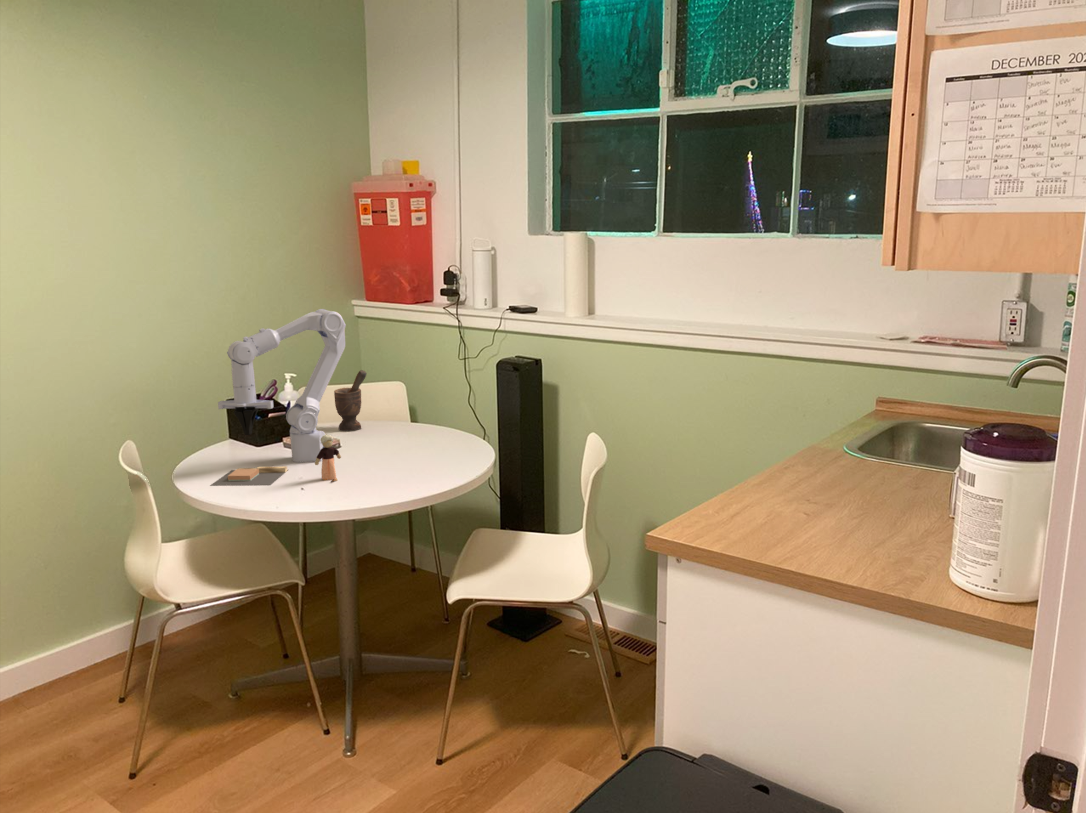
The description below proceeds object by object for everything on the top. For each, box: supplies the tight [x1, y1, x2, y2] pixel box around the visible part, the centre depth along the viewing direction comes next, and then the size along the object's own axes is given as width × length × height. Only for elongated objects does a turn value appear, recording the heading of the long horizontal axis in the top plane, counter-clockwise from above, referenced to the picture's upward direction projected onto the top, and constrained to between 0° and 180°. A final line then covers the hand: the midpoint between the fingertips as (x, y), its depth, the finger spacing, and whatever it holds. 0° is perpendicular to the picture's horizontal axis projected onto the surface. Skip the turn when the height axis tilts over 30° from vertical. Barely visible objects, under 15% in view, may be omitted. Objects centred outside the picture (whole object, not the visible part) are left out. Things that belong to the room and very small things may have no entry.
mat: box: [209, 469, 287, 487], centre depth 232 cm, size 16×14×1 cm
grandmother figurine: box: [314, 433, 342, 483], centre depth 228 cm, size 8×4×13 cm, turn 148°
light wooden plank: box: [235, 465, 289, 473], centre depth 236 cm, size 14×3×1 cm, turn 87°
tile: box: [228, 468, 259, 481], centre depth 231 cm, size 1×6×6 cm
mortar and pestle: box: [333, 369, 367, 432], centre depth 283 cm, size 12×9×20 cm
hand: (248, 434), depth 238 cm, fingers closed
